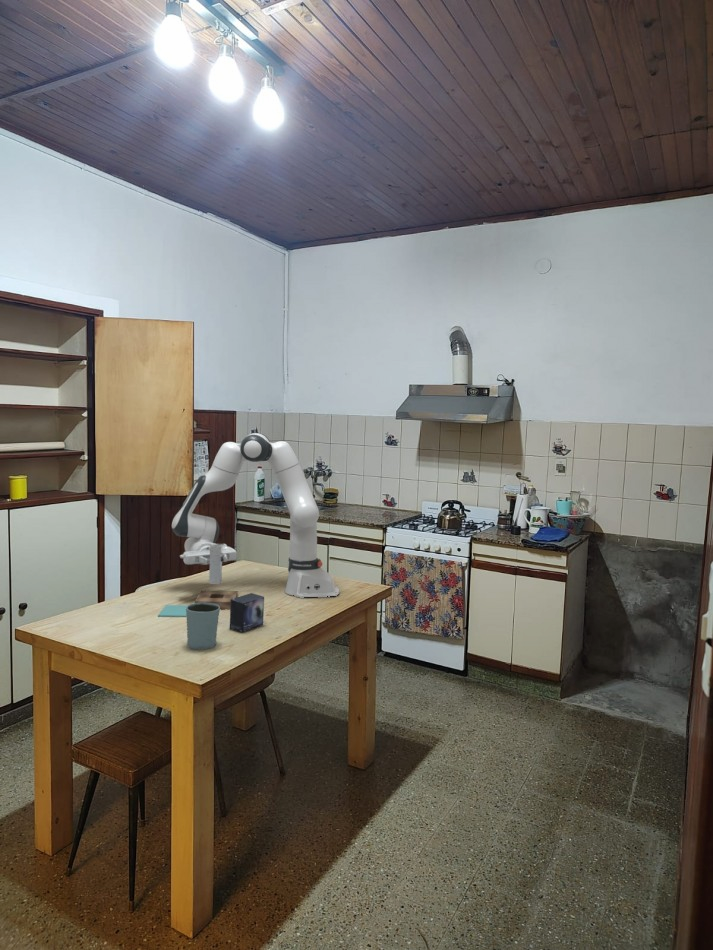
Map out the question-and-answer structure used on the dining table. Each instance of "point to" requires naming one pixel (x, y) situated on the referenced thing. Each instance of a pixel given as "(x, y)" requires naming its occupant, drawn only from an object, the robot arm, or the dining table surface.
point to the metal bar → (215, 564)
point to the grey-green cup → (202, 625)
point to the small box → (246, 612)
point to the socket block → (217, 598)
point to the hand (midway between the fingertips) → (216, 560)
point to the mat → (173, 611)
